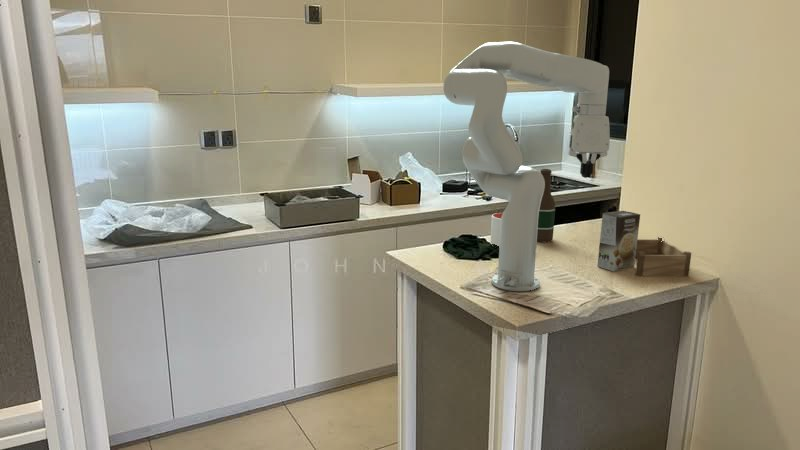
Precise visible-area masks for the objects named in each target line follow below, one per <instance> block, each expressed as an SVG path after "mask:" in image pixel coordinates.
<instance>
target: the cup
mask: <svg viewBox="0 0 800 450" xmlns="http://www.w3.org/2000/svg"><path fill="white" fill-rule="evenodd" d="M502 214H503V212H498V213H493V214H492V215H491V223H490V225H491V226H490V227H491V228H490V244H491V243H492V244H495V245H497V246H500V228H501V217H502ZM492 244H491V245H492Z"/></svg>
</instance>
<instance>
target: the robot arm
mask: <svg viewBox="0 0 800 450" xmlns="http://www.w3.org/2000/svg"><path fill="white" fill-rule="evenodd" d="M507 79H510V80H513V81H518V82H523V83H527V84H531V85H534V86H538V87H545V88H546V87H548V88H557V89H558V90H560V91H561V92H564V93H572V94H575V93H577V94H578V98H577V99H578V100H577V104H576V105H575V106H573V107H572V112H573V113H574V112H575V113H576V115H575V116H574V117H573V119H572V120H573V121H572V124H571V130H570V135H569V143H568V144H569V145H568V146H569V150H568V156H570V157H574V158H576V159H577V160H579V163H580V168H579V169H580V171H579V172H580V175H581V177H582V178H584V179H587V178H589V179H591V177H592V175H593V170H594V164H595V163H596V162H597V160H599V158H603V157H607V156H608V152H609V150H610V139H611V138H610V137H611V135H610V132H611V131H610V128H611V127H610V119H609V116H606V112H607V101H608V93H609V92H608V89H609V80H610V68H609V67H608V65H604V64H602V63H600V62H598V61H595V60H592V59H589V58H588V59H587V58H582V57H577V56H572V55H567V54H564V53H563V54H561V53H557V52H552V51H551V52H550V51H548V50H547V51H546V50H543V49H539V48H537V47H533V46H530V45H527V44H523V43H520V42H516V41H499V42H496V41H494V42H485V43H484V44H482V45H479V47H477V48H476V49H475V50H473V51H472V52H471V53H469V54H468V55H467V56H466V57H464V59H462V60H461V61H460V62H459V63H457V64H456V65H455V66H454V67H453V68H452V69H451V70H450V71H449V72H448V73H447V75H446V77H445V79H444V82H443V85H442V86H443V87H442V88H443V94H444V96H445V98H446V99H447V100H448V101H449V102H450V103H453V104H455V105H461V106H473V110H472V114H471V117H470V119H469V124H468V134H469V137H467V139H466V140H465V141H464V144H463V146H462V149H461V150H462V151H461V156H462V161H463V165H464V166H465V168H466V170H467V171H468V173H469V174H470V175H471V177H472V178H473V180H475V182H476V183H477V186H479V188H480V189H481V191H482V192H483V193H485V195H487V196H488V197H492V198H496V199H500V200H503V201H508V203H507V206H506V207H505V209H504V210H503V211H502V213H503V214H502V217H501V228H500V246H499V248H498V251H499V252H498V265H497V267H498V268H497V274H495V275H493V276H492V277H491V284H492V285H493V286H494V287H496V288H498V289H501V290H504V291H511V292H530V290H531V291H534V289H535V290H537V289H538V288H540V286H539V285H541V282H540V279H538V278H537V277H535V273H536V256H537V243H538V242H537V230H538V216H539V209H540V204H541V200H542V196H543V193H544V188H545V181H544V177H543V175H542V174H541V173H540V170H539V169H536V168H534V167H531V166H526V165H523V164H522V163H523V154H522V151H521V150H520V148H519V145H518V144H517V143H516V141H515V139H514V138H513V136H512V134H511V133H510V131H509V130H508V127H507V126H506V124H505V123H504V120H503V110H504V106H505V101H506V98H507V94H508V83H507ZM587 154H588V155H587ZM536 288H537V289H536Z"/></svg>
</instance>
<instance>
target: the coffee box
mask: <svg viewBox="0 0 800 450" xmlns="http://www.w3.org/2000/svg"><path fill="white" fill-rule="evenodd" d="M601 217H602V219H601V227H600V238H599V245H598V246H599V248H598V256H597V267H599V268H602V269H604V270H608V271H612V272H618V271H623V270H628V269H631V268H635V263H636V259H635V256H636V247H637V239H638V238H639V228H640V220H641V214H640V213H636V212H632V211H626V210H617V211H610V212H602V216H601Z"/></svg>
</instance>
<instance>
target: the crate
mask: <svg viewBox="0 0 800 450" xmlns="http://www.w3.org/2000/svg"><path fill="white" fill-rule="evenodd" d="M659 237H660V236H658V237H657V239H658V240H657V239H653V238H652V239H651V238H650V239H649V238H648V239H644V238H643V239H641V238H640V239H637V247H636V256H635V260H636V266H635V276H636V277H689V275H690V274H689V273H690V267H691V258H692V252H691V251H684V250H682V249H680V248H678V247H676V246H674V245H672V244H671V243H669V242H667V241H666V240H664V241H662V238H659ZM661 241H662V242H661ZM665 241H666V242H665Z"/></svg>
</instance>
